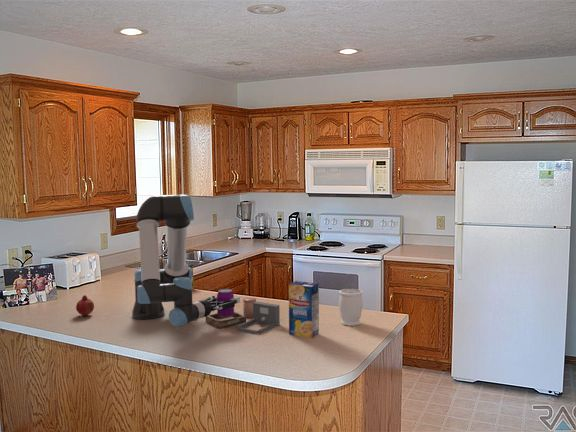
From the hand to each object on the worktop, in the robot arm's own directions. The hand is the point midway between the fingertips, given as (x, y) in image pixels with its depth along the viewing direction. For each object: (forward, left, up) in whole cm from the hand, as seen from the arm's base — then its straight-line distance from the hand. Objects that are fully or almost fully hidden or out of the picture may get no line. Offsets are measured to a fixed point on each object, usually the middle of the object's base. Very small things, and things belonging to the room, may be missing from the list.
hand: (231, 298), depth 251 cm
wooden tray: (+1, -4, -10) cm, 11 cm away
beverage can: (+2, -5, -7) cm, 9 cm away
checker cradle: (+17, +3, -10) cm, 20 cm away
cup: (0, +10, -10) cm, 14 cm away
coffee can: (-73, +13, -10) cm, 74 cm away
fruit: (-52, -51, -10) cm, 74 cm away
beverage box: (+37, +13, -10) cm, 41 cm away
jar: (+39, +39, -10) cm, 56 cm away
